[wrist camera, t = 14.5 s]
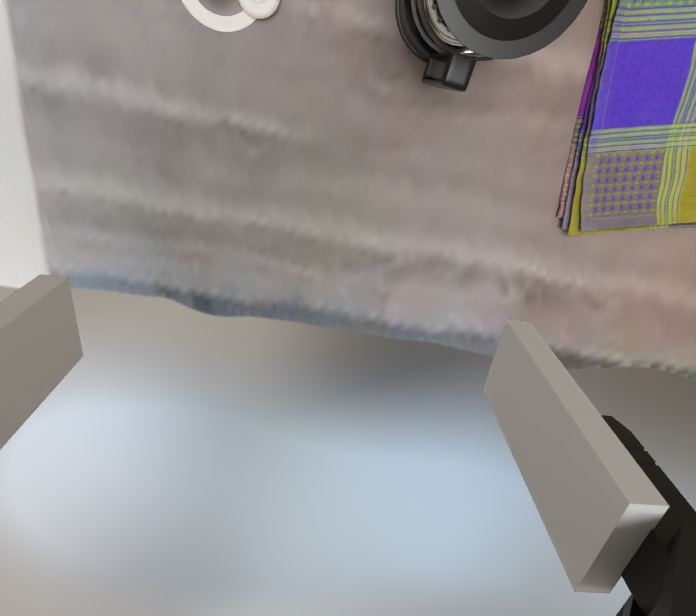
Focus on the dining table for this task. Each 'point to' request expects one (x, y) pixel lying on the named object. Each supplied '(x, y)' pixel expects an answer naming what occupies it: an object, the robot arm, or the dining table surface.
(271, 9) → the teacup and saucer
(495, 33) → the french press
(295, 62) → the dining table surface
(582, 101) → the dish towel
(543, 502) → the robot arm
